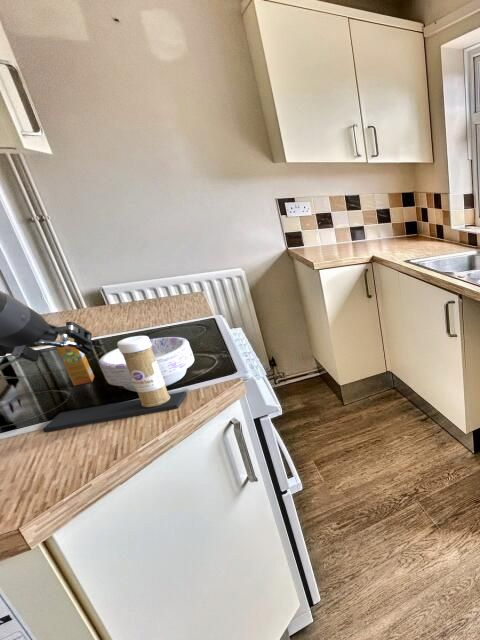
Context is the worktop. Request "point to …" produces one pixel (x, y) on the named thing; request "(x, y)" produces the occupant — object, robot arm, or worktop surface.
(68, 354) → the supplement box
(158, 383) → the sprinkles bottle
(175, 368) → the paper bowls
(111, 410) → the strip
